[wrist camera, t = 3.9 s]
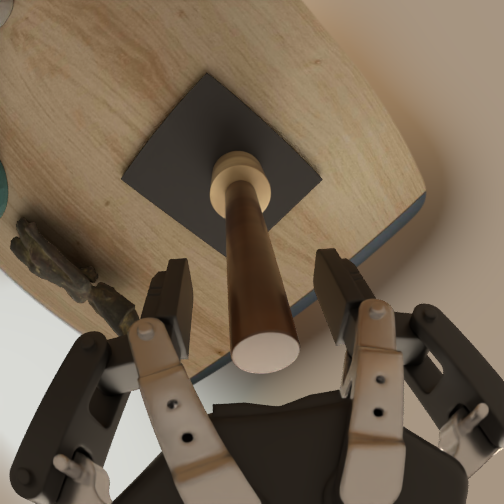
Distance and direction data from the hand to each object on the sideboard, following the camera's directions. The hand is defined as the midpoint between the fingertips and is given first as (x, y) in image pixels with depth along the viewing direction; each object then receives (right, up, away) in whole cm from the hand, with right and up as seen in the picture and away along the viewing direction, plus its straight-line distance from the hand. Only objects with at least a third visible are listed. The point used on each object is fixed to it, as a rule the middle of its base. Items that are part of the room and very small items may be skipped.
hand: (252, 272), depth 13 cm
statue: (-19, -1, +16) cm, 25 cm away
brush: (-1, +8, +12) cm, 14 cm away
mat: (-3, +8, +13) cm, 15 cm away
